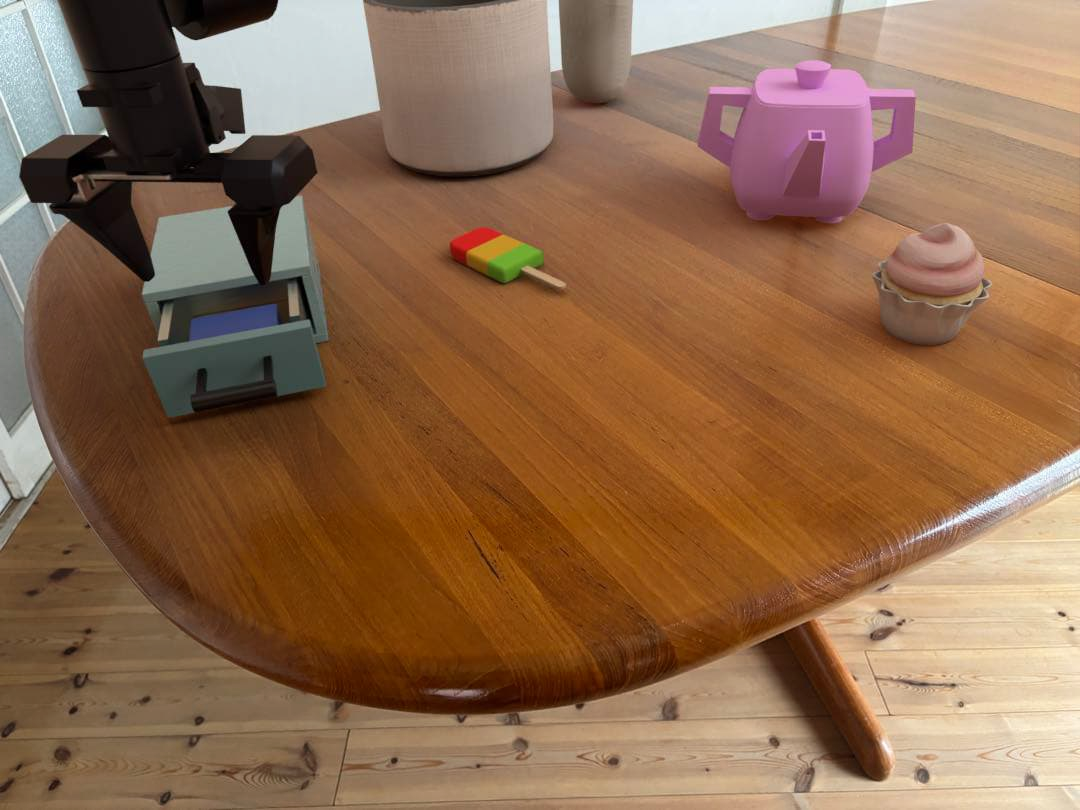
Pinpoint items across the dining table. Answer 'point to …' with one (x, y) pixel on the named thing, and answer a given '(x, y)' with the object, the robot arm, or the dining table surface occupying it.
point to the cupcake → (931, 285)
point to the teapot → (806, 139)
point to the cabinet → (230, 259)
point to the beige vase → (596, 47)
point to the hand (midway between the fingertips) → (207, 280)
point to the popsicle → (500, 256)
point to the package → (234, 322)
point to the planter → (462, 82)
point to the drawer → (234, 351)
